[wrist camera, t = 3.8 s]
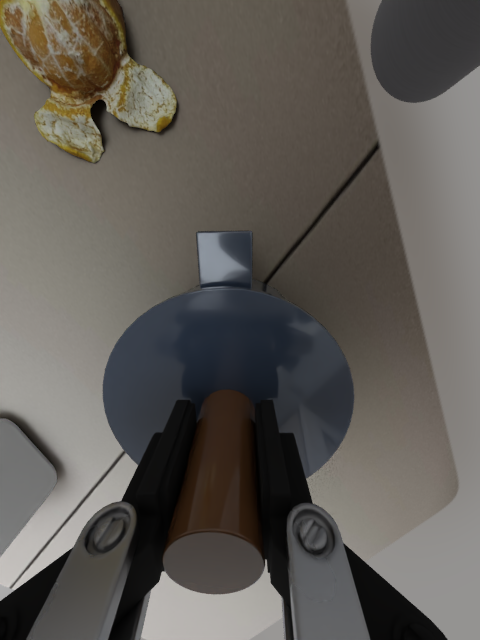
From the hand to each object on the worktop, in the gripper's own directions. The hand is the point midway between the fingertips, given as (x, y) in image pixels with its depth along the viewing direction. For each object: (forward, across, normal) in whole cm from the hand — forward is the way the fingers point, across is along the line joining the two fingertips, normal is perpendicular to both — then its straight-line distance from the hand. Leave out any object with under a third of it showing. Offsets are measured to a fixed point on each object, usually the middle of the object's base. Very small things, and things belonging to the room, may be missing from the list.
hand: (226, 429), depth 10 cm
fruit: (+9, +8, -17) cm, 21 cm away
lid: (+2, 0, 0) cm, 2 cm away
